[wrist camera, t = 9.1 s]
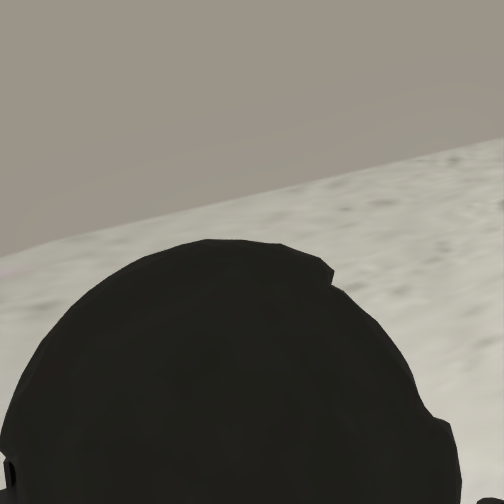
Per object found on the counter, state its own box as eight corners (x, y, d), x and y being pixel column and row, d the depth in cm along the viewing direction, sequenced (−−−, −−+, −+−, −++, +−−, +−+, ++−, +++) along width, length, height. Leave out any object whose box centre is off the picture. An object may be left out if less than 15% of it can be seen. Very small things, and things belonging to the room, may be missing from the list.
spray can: (252, 391, 26) (293, 168, 8) (317, 506, 23) (585, 537, 6) (146, 454, 24) (-87, 338, 6) (203, 587, 21) (68, 1019, 4)
